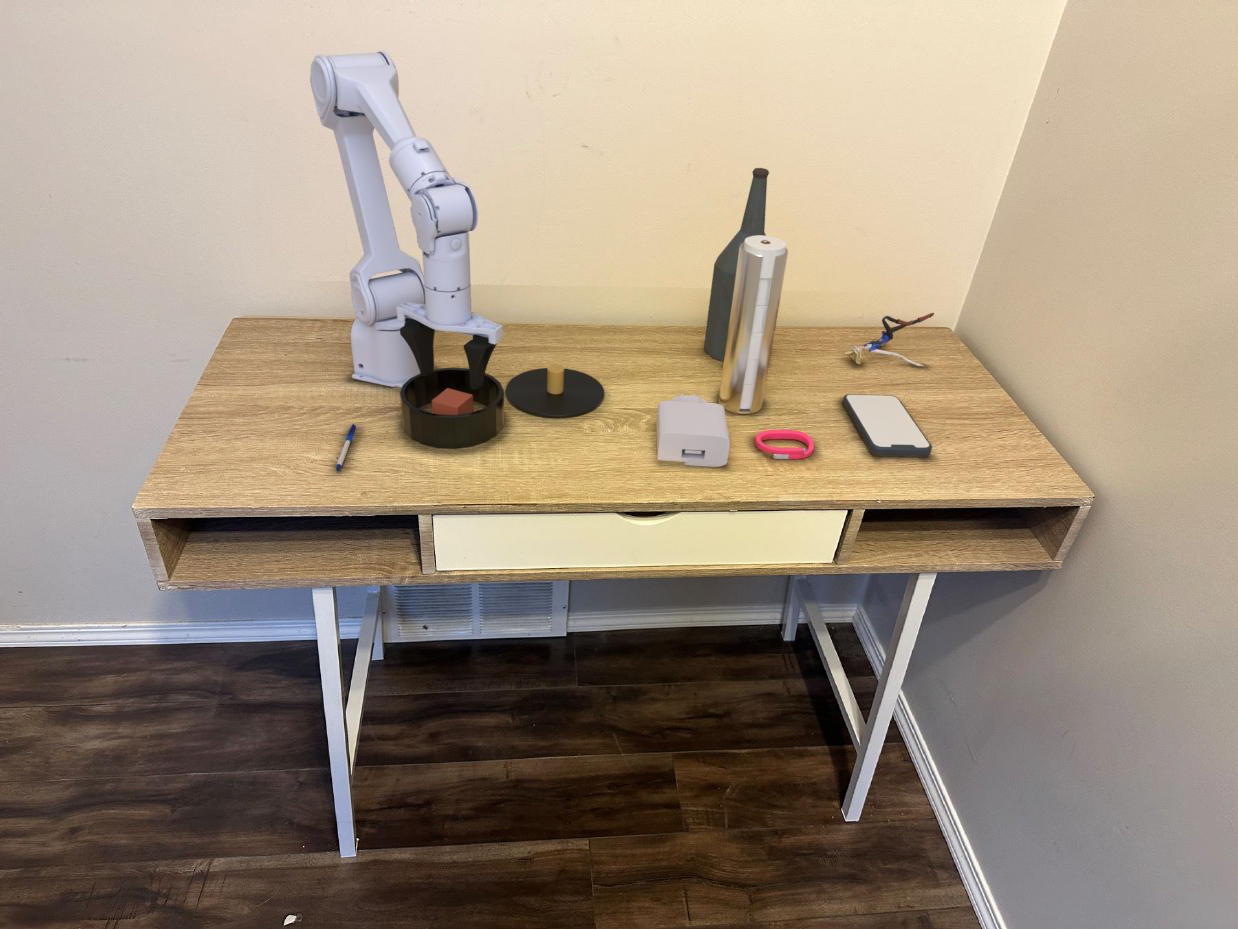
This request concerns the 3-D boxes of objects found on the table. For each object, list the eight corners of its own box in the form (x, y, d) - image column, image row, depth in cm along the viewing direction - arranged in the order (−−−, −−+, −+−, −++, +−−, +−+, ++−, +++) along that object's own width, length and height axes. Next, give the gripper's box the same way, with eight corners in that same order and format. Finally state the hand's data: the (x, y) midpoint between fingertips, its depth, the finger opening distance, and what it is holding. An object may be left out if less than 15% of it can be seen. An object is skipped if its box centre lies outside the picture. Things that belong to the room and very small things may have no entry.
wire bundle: (825, 389, 154) (925, 347, 157) (851, 398, 146) (955, 353, 149) (810, 333, 151) (912, 291, 154) (835, 338, 143) (943, 294, 146)
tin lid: (489, 409, 128) (489, 380, 126) (527, 366, 140) (527, 339, 137) (585, 430, 125) (587, 401, 123) (616, 384, 137) (618, 356, 134)
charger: (717, 411, 132) (726, 467, 119) (654, 407, 132) (657, 463, 119) (721, 382, 129) (731, 437, 117) (657, 378, 129) (660, 433, 117)
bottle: (775, 352, 149) (807, 169, 133) (749, 374, 142) (780, 183, 126) (719, 335, 154) (744, 155, 137) (692, 355, 147) (714, 168, 130)
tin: (384, 439, 120) (381, 404, 117) (431, 393, 131) (429, 360, 128) (478, 461, 117) (477, 425, 114) (518, 412, 128) (518, 378, 125)
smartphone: (838, 402, 137) (870, 458, 124) (840, 393, 136) (873, 448, 123) (895, 403, 138) (933, 459, 124) (897, 394, 137) (936, 449, 123)
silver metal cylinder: (767, 399, 136) (795, 238, 122) (754, 418, 131) (781, 252, 117) (726, 389, 138) (749, 229, 124) (712, 407, 133) (734, 242, 119)
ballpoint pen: (350, 428, 122) (349, 421, 121) (356, 428, 122) (356, 422, 121) (335, 472, 113) (334, 465, 112) (342, 472, 113) (342, 465, 112)
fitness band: (759, 459, 122) (760, 449, 121) (750, 436, 127) (752, 427, 126) (817, 460, 122) (819, 450, 122) (807, 437, 127) (809, 428, 126)
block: (433, 426, 123) (431, 400, 121) (448, 412, 126) (447, 387, 124) (458, 433, 122) (457, 407, 120) (473, 419, 125) (472, 394, 123)
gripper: (514, 284, 114) (514, 379, 121) (415, 261, 118) (421, 355, 125) (486, 303, 108) (488, 402, 116) (384, 279, 112) (392, 376, 120)
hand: (451, 379), depth 120 cm, fingers open, 7 cm apart
